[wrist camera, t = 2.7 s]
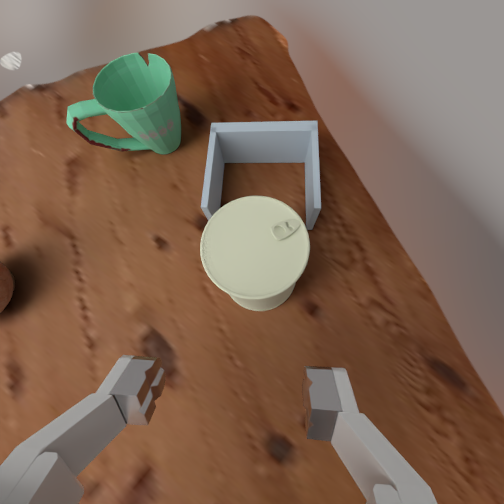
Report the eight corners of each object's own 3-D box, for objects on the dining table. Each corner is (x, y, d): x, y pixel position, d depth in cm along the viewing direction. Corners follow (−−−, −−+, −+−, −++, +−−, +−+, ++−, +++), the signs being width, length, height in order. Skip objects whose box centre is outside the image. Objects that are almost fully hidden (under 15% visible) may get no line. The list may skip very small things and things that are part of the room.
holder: (311, 229, 32) (321, 208, 26) (212, 228, 33) (200, 207, 27) (309, 153, 36) (317, 120, 30) (220, 154, 37) (211, 122, 31)
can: (309, 289, 30) (334, 264, 18) (243, 324, 29) (225, 321, 18) (274, 229, 32) (277, 174, 21) (212, 259, 32) (181, 220, 20)
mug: (184, 109, 40) (158, 42, 31) (205, 152, 37) (182, 91, 28) (101, 143, 39) (47, 84, 30) (115, 190, 36) (61, 140, 27)
